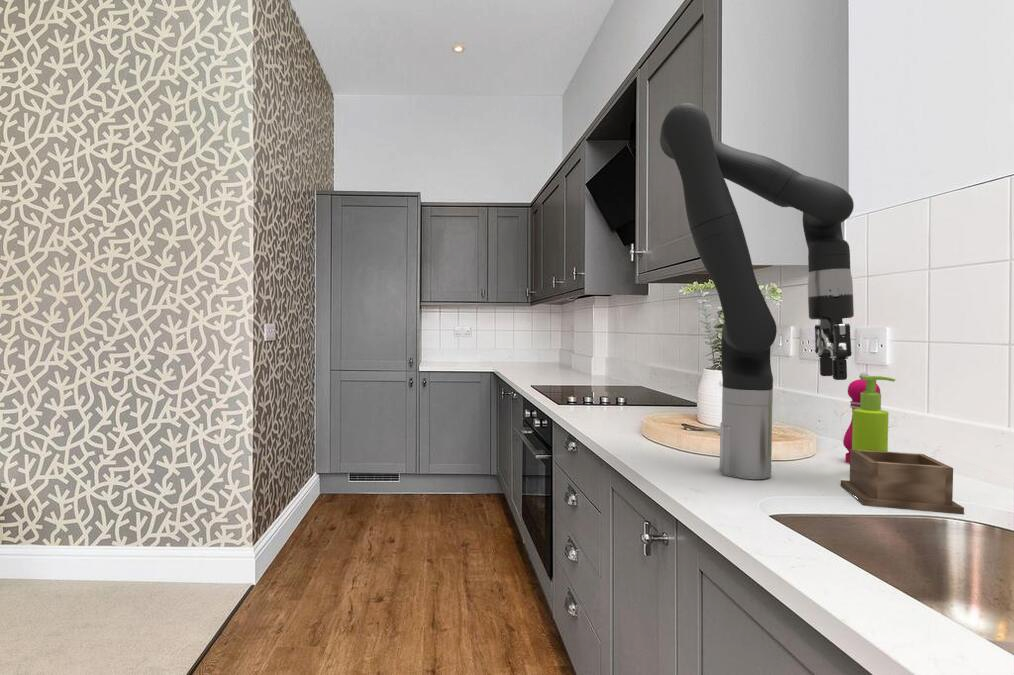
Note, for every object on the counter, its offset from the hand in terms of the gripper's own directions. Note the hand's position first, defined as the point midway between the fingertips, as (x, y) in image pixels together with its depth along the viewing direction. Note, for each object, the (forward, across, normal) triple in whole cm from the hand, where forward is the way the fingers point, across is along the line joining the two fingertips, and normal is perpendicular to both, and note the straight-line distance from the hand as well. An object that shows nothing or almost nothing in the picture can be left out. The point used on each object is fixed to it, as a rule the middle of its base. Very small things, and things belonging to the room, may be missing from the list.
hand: (833, 377), depth 106 cm
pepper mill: (+20, -17, +10) cm, 28 cm away
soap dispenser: (+20, -5, +8) cm, 22 cm away
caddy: (+20, +10, +6) cm, 23 cm away
